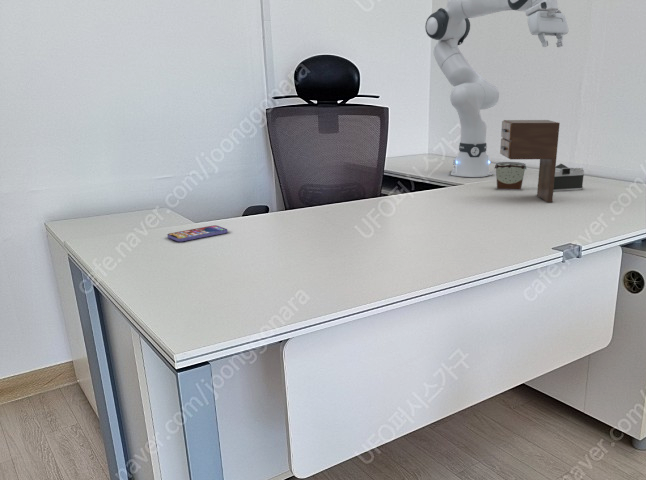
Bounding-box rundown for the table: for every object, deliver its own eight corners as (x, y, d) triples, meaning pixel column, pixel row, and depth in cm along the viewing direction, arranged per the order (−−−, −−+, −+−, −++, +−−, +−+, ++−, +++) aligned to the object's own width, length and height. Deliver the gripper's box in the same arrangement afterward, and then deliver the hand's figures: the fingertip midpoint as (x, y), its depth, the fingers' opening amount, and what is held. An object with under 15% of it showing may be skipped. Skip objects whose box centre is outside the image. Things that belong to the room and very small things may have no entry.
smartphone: (229, 232, 167) (179, 242, 157) (215, 227, 172) (166, 237, 162) (229, 229, 167) (178, 239, 156) (215, 224, 171) (165, 233, 161)
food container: (523, 187, 237) (525, 161, 234) (524, 190, 232) (526, 164, 228) (492, 186, 238) (493, 161, 235) (493, 189, 233) (494, 163, 229)
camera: (573, 186, 240) (575, 160, 237) (585, 189, 233) (588, 163, 229) (538, 188, 236) (540, 162, 232) (550, 191, 228) (552, 165, 225)
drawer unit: (495, 195, 221) (499, 120, 211) (541, 195, 221) (547, 120, 212) (503, 203, 207) (508, 122, 198) (552, 202, 208) (559, 122, 199)
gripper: (554, 14, 230) (561, 50, 231) (522, 11, 217) (530, 49, 218) (568, 6, 225) (575, 43, 226) (536, 3, 212) (544, 42, 213)
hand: (552, 46), depth 222 cm, fingers open, 8 cm apart
